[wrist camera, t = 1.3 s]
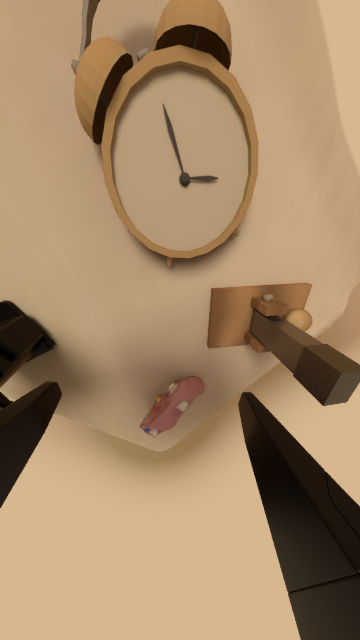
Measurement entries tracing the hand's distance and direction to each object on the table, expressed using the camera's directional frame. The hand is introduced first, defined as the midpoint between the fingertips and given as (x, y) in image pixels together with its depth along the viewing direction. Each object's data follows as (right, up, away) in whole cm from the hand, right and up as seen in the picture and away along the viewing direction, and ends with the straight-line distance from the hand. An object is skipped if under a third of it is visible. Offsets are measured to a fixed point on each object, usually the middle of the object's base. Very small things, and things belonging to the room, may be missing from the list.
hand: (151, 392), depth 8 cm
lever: (+11, +3, +12) cm, 17 cm away
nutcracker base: (+11, +4, +14) cm, 18 cm away
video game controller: (0, -8, +18) cm, 20 cm away
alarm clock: (0, +17, +6) cm, 18 cm away
